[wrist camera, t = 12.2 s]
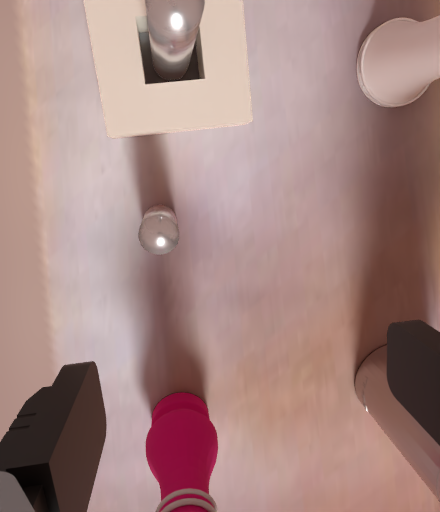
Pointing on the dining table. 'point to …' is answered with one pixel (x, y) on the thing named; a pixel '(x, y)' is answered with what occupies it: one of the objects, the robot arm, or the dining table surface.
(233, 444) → the dining table surface
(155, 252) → the short pin
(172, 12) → the tall pin
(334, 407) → the dining table surface
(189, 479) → the pepper mill
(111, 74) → the socket block
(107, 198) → the dining table surface
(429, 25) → the vase
